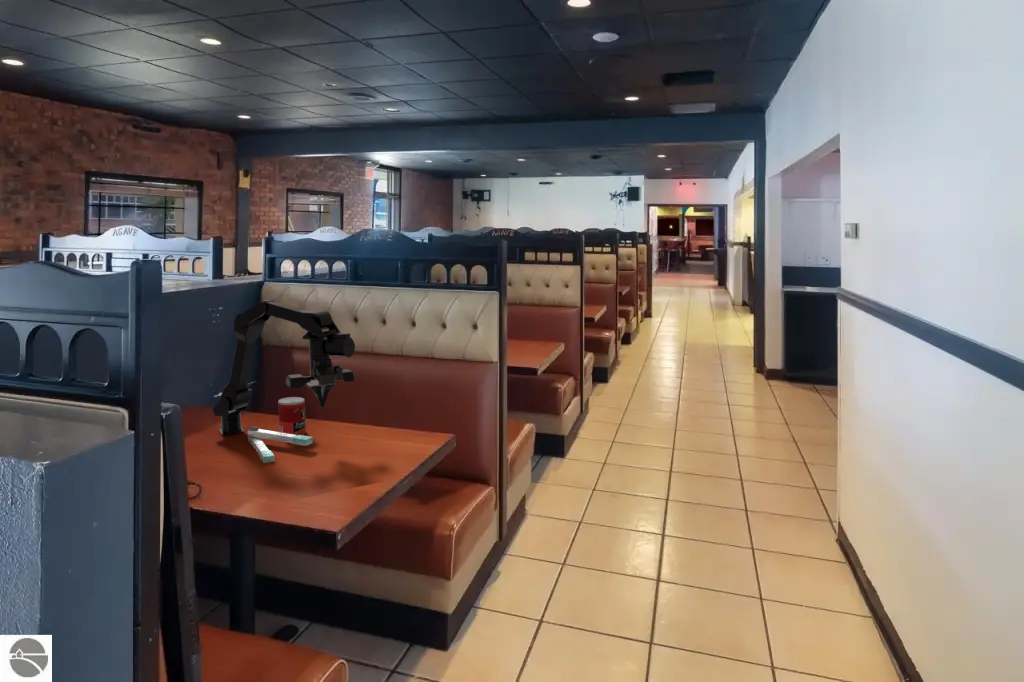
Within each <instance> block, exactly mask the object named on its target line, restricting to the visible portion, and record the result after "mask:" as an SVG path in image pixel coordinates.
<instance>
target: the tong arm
mask: <svg viewBox="0 0 1024 682" xmlns="http://www.w3.org/2000/svg"><path fill="white" fill-rule="evenodd" d="M248 437H258V438H260V439H264V440H272V441H275V442H276V441H277V442H282V443H283V442H284V443H289V444H293V445H299V446H304V447H305V446H309V445H311V444H313V443H314V440H313V438H314V437H313V436H309V435H294V434H287V433H281V432H280V431H273V430H267V429H261V428H259V427H258V426H254V425H253V426H250V427H248V429H247V438H248Z"/></svg>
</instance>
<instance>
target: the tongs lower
mask: <svg viewBox="0 0 1024 682" xmlns="http://www.w3.org/2000/svg"><path fill="white" fill-rule="evenodd" d="M247 440H248V441H247V443H248V442H249V443H248V444H251V446H252V445H253V446H252V447H253V449H254V450H255V449H256V450H255V451H256V453H257V452H258V453H257V455H258V456H259V459H260V461H262V462H263V464H267V463H268V464H269V463H273V462H275V460H276V459H275V454H274V453H273V451H272V450H269V448H268V447H267V446H266V444H265V443H264V441H263V440H262V438H258V437H248V436H247Z"/></svg>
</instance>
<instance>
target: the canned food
mask: <svg viewBox="0 0 1024 682" xmlns="http://www.w3.org/2000/svg"><path fill="white" fill-rule="evenodd" d="M277 403H278V423H279V424H278V425H279V432H281V433H287V434H294V435H303V434H304V435H305V434H306V432H307V424H306V421H307V420H306V401H305V398H303V397H299V396H290V397H282V398H280V399H278V402H277ZM304 435H303V436H304Z"/></svg>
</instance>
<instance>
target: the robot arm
mask: <svg viewBox="0 0 1024 682" xmlns="http://www.w3.org/2000/svg"><path fill="white" fill-rule="evenodd" d="M272 317H274V318H278V319H281V320H285V321H288V322H292V323H294V324H296V325H299V327H301V329H303V330H305V331H307V332H306V333H305V334H303V336H302V337H301V338H302V339H303V340H308V346H309V347H308V348H309V358H308V360H309V369H310V370H309V375H310V376H309V375H308V376H307V375H306V376H303V375H302V374H301V373H298V374H297V373H296V374H288V375H287V376H286V378H285V385H286V386H287V387H288V388H290V389H297V388H303V387H304V386H305V384H306V387H308V388H309V389H311V390H312V392H313V393H314V396H315V398H316V400H317V402H318V405H319V407H320V408H324V407H325V404H326V402H327V398H328V396H329V393H330V391H331V389H332V388H333V387H336V385H337V384H336V383H337V380H342V381H343V382H345V383H348V382H349V383H351V382H356V375H355V373H354V371H352V370H350V369H349V368H346V369H345V368H344V369H343V366H342V365H334V366H333V363H332V358H331V357H341V358H351V357H352V356H353V355H354V353H355V349H356V344H355V342H354V340H353V338H352V337H351V334H350V333H349V332H348V333H346V332H345V333H341V331H340V329H339V328H338V326H337V324H336V323H335V322H334V320H333V318H332V315H331V313H330V312H328V311H326V310H319V309H318V310H317V309H314V310H311V309H309V310H307V309H302V308H299V307H295V306H291V305H288V304H286V303H281V302H277V301H275V300H274V299H267V300H266V299H265V300H260V301H259V302H257V304H256V305H254V306H252V307H249V309H247V310H245V311H243V312H241V313H238V314H236V315H235V317H234V322H233V332H234V334H235V336H236V339H237V341H236V346H235V349H234V350H235V351H234V355H233V360H232V361H233V362H232V366H231V367H232V368H231V371H230V372H231V373H230V378H229V381H228V382H227V384H226V385H225V386H224V388H223V389H222V392H221V395H220V397H219V401H218V402H217V404H215V405H214V407H213V408H212V411H213V414H214V416H216V417H220V420H221V421H220V424H221V428H219V429H218V430H219V432H220V435H222V436H229V435H236V434H243V433H245V430H244V428H243V427H242V418H241V417H242V415H241V412H243V411H246V410H247V408H248V405H249V404H250V402H252V394H253V389H252V388H251V389H250V388H249V385H248V383H247V382H248V379H249V373H250V368H251V362H252V358H253V357H252V356H253V353H254V349H255V348H254V347H255V343H256V340H258V338H259V337H260V335H261V334H262V333H263V330H264V327H265V324H266V323H267V322H268V321H269V320H270V319H271V318H272Z"/></svg>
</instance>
